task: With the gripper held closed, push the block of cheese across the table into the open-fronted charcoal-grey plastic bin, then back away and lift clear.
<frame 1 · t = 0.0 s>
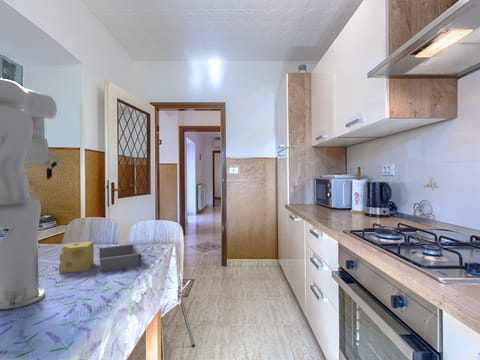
hand: (33, 179, 103), 37 cm above the table, tool pointing down, fingers open, 9 cm apart
cheese: (77, 268, 112), on the table
bin: (117, 262, 119), on the table
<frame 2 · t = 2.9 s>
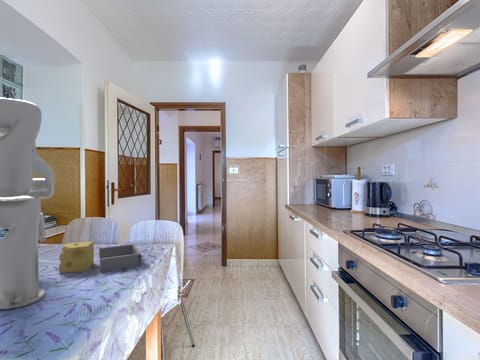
hand: (29, 257, 105), 6 cm above the table, tool pointing down, fingers closed
nothing on the table moved.
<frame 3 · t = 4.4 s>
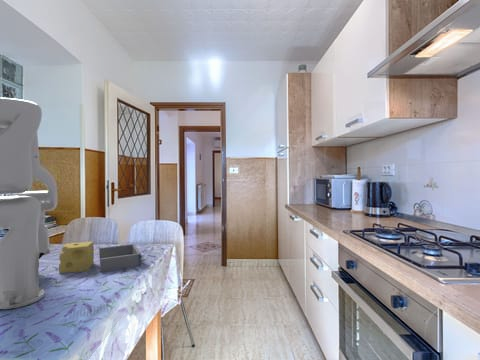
hand: (33, 270, 105), 1 cm above the table, tool pointing down, fingers closed
nothing on the table moved.
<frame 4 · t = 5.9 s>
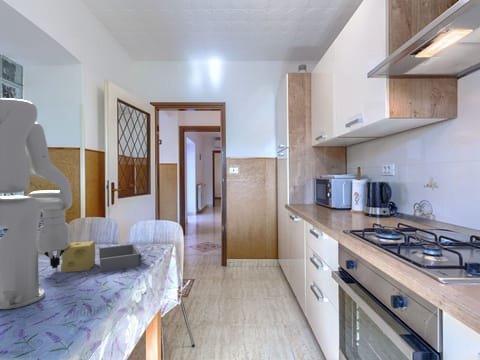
hand: (55, 267, 108), 2 cm above the table, tool pointing down, fingers closed
cheese: (79, 268, 112), on the table, touching gripper
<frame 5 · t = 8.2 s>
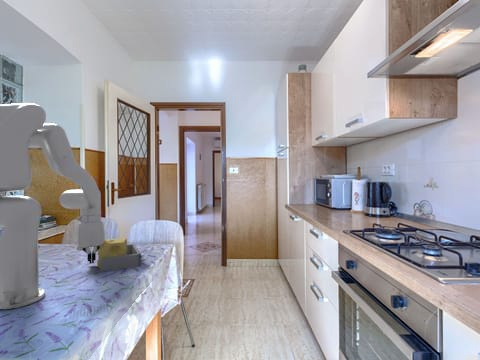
hand: (91, 262, 114), 2 cm above the table, tool pointing down, fingers closed
cheese: (113, 263, 118), resting in bin, touching gripper
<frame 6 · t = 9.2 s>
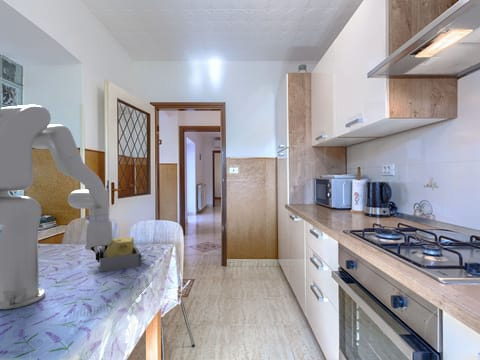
hand: (99, 261, 116), 1 cm above the table, tool pointing down, fingers closed
cheese: (121, 263, 119), resting in bin, touching gripper
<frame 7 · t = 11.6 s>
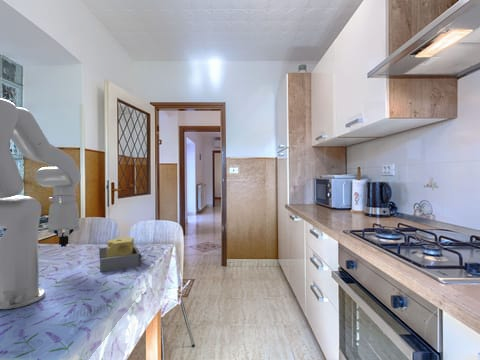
hand: (63, 246, 108), 10 cm above the table, tool pointing down, fingers closed
cheese: (121, 263, 119), resting in bin
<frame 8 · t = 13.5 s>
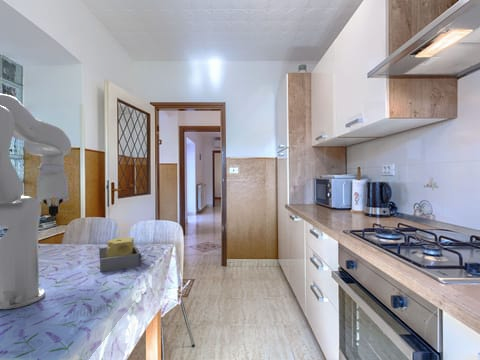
hand: (53, 215, 108), 22 cm above the table, tool pointing down, fingers closed
nothing on the table moved.
at the end: cheese inside the target area on the bin (0.9 cm from its centre), point 0.0 cm above the bin's base; cheese tilted 0°; cheese moved 16.3 cm from its start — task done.
